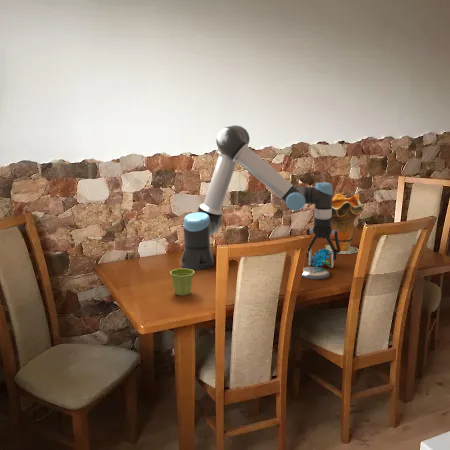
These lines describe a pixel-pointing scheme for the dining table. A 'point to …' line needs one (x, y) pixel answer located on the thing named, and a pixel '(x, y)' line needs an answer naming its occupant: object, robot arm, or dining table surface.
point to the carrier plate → (315, 273)
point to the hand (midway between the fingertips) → (321, 265)
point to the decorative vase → (344, 221)
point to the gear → (321, 258)
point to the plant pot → (182, 280)
